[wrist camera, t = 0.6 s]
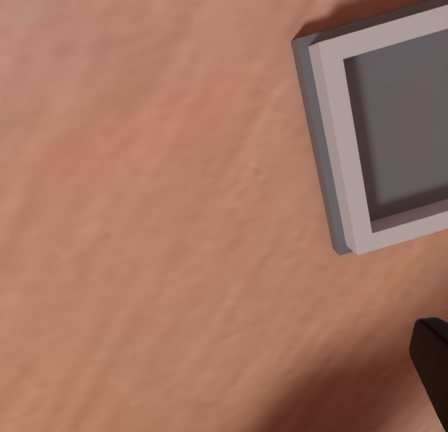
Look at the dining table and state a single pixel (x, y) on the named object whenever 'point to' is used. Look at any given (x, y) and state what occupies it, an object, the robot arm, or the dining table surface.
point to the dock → (380, 124)
